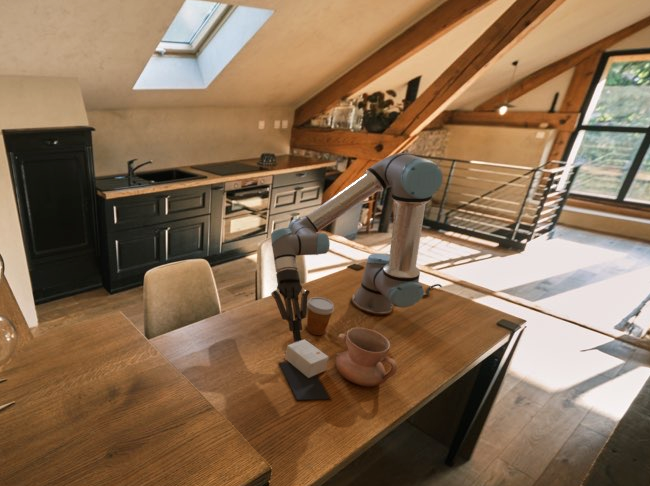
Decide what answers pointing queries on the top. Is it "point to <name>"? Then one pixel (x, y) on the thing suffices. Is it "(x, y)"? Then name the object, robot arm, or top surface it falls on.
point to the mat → (303, 384)
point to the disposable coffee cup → (318, 314)
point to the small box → (306, 358)
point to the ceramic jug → (364, 357)
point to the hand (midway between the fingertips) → (297, 340)
